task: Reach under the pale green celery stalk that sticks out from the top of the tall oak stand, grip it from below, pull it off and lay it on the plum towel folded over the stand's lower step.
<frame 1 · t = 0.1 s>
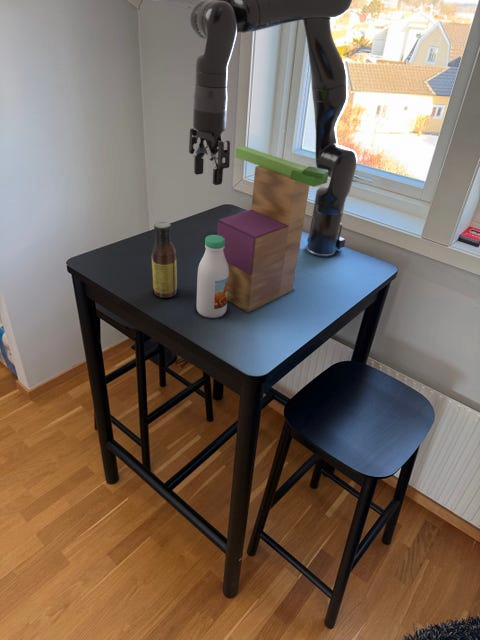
hand: (207, 179, 114), 29 cm above the table, tool pointing down, fingers open, 8 cm apart
sauce bottle: (164, 293, 125), on the table
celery: (275, 168, 116), point 32 cm above the table, touching oak stand
towel: (253, 223, 116), resting on oak stand
oak stand: (253, 291, 129), on the table
milk bottle: (211, 310, 120), on the table
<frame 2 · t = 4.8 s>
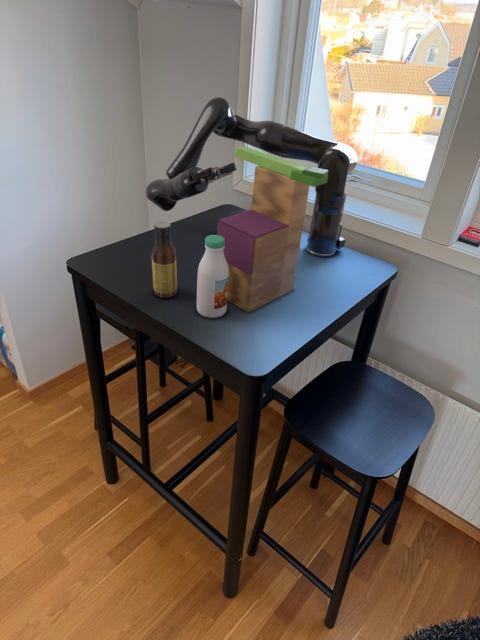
hand: (223, 168, 129), 27 cm above the table, tool pointing upward, fingers open, 8 cm apart
nothing on the table moved.
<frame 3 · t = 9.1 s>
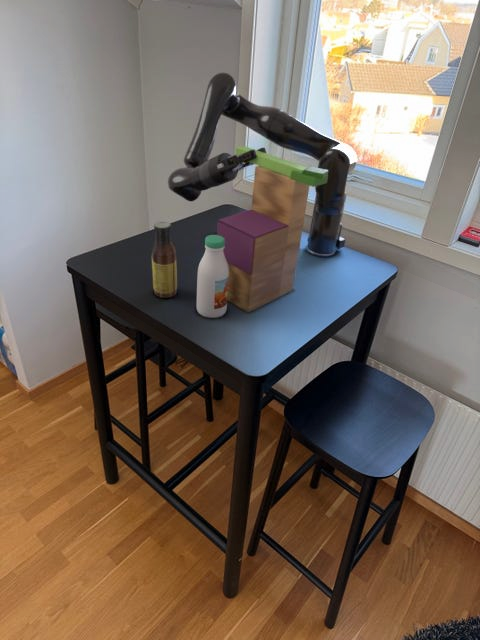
hand: (259, 152, 118), 35 cm above the table, tool pointing upward, fingers closed on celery, 3 cm apart
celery: (275, 168, 116), point 32 cm above the table, touching gripper, oak stand
everything else where it was.
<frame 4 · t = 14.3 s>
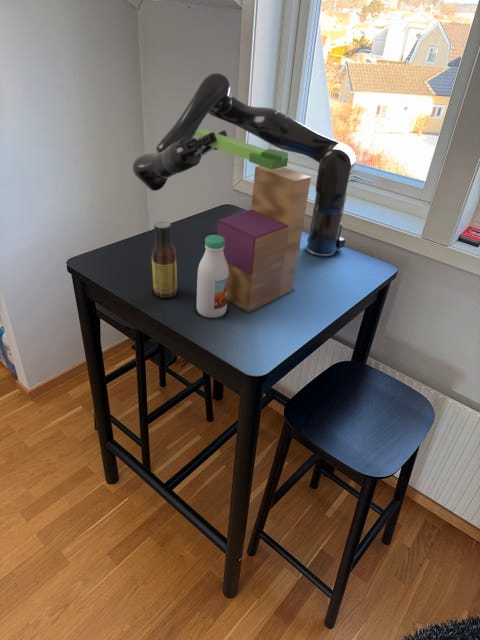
hand: (220, 135, 113), 39 cm above the table, tool pointing upward, fingers closed on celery, 3 cm apart
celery: (235, 152, 111), point 36 cm above the table, touching gripper
everything else where it was.
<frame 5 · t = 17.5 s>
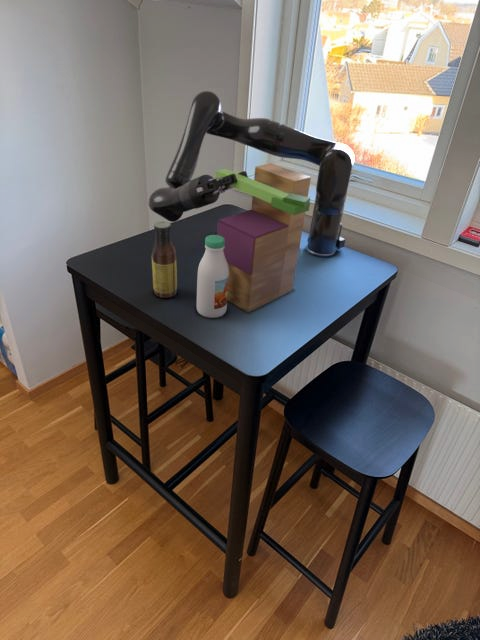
hand: (240, 176, 113), 31 cm above the table, tool pointing upward, fingers closed on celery, 3 cm apart
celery: (256, 194, 111), point 28 cm above the table, touching gripper
everything else where it was.
when the fingers open (24 cm above the table, at t = 19.8 s): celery stays where it is, resting on towel.
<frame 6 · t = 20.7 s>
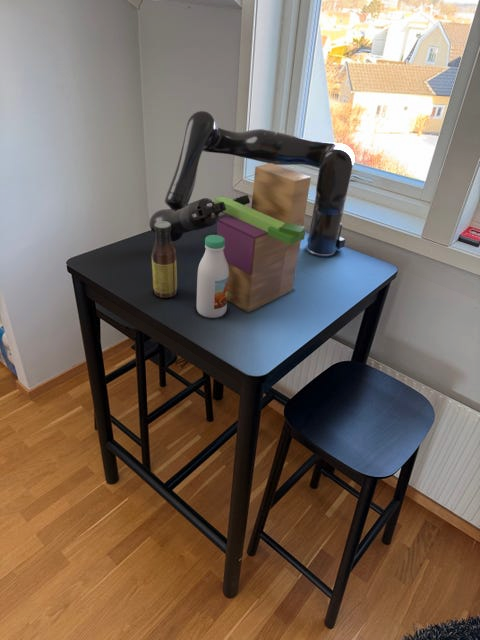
hand: (236, 202, 117), 24 cm above the table, tool pointing upward, fingers open, 8 cm apart
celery: (253, 222, 115), point 21 cm above the table, touching towel
everything else where it was.
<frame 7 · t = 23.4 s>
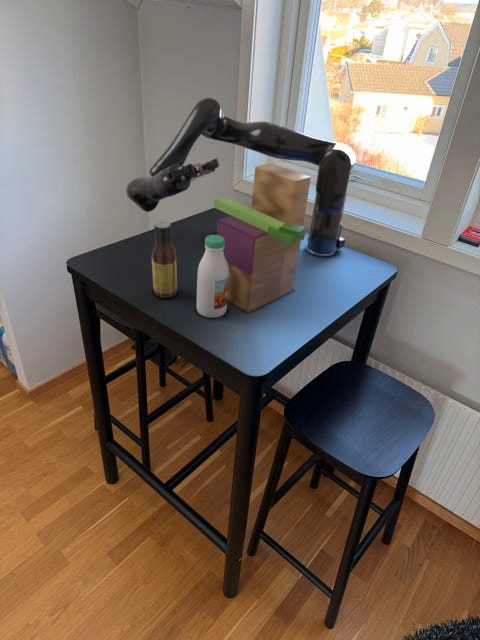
hand: (205, 165, 120), 30 cm above the table, tool pointing upward, fingers open, 8 cm apart
nothing on the table moved.
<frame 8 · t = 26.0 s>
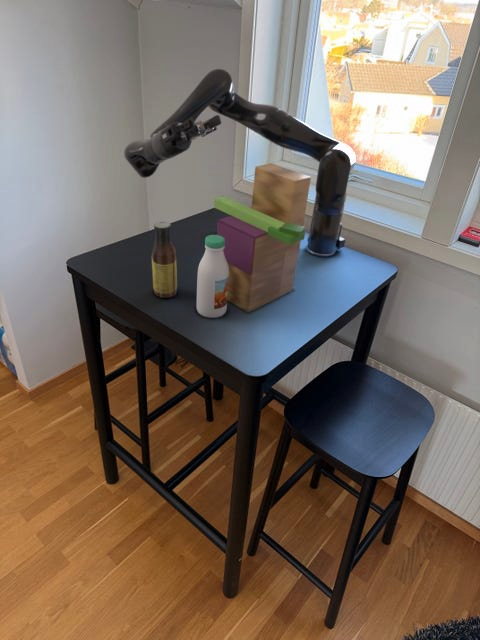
hand: (206, 120, 114), 41 cm above the table, tool pointing upward, fingers open, 8 cm apart
nothing on the table moved.
at the end: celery inside the target area on the towel (0.1 cm from its centre), point 0.4 cm above the towel's base; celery touching towel; the gripper is holding nothing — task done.
